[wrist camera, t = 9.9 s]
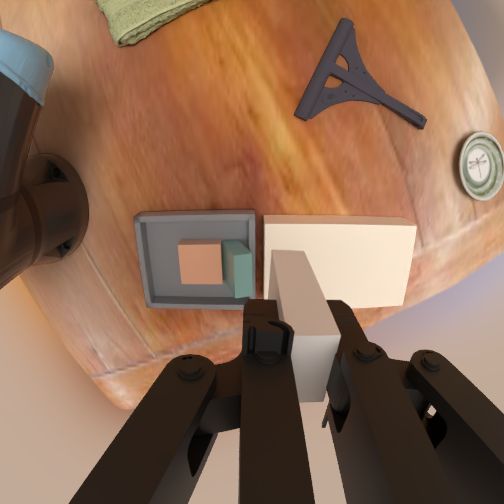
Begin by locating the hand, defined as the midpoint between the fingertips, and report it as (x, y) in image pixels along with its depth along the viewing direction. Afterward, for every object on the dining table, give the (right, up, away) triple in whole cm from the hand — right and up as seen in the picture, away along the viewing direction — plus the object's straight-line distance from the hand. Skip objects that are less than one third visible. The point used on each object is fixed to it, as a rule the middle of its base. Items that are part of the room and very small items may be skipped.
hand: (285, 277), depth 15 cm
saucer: (+30, +14, +20) cm, 38 cm away
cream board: (+9, +1, +24) cm, 26 cm away
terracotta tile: (-8, 0, +22) cm, 23 cm away
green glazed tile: (-2, 0, +21) cm, 22 cm away
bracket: (+13, +20, +18) cm, 30 cm away
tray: (-8, +1, +24) cm, 25 cm away
